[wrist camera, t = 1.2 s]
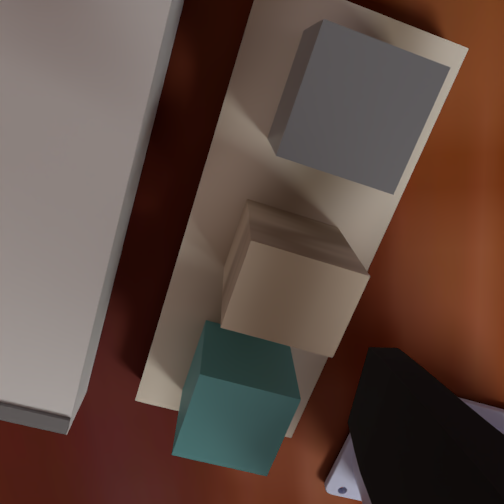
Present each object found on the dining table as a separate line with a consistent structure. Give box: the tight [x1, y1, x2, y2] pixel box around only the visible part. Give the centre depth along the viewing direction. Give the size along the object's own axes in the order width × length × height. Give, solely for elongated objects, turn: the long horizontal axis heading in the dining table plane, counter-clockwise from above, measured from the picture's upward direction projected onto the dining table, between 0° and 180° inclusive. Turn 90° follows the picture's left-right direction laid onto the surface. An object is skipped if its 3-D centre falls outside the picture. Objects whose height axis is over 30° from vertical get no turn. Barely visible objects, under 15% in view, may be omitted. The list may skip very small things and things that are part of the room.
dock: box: [0, 0, 184, 435], centre depth 18 cm, size 10×22×3 cm, turn 162°
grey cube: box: [267, 19, 451, 195], centre depth 16 cm, size 4×4×4 cm
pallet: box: [135, 0, 469, 438], centre depth 18 cm, size 8×19×7 cm, turn 162°
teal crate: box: [172, 320, 301, 476], centre depth 20 cm, size 4×4×4 cm
